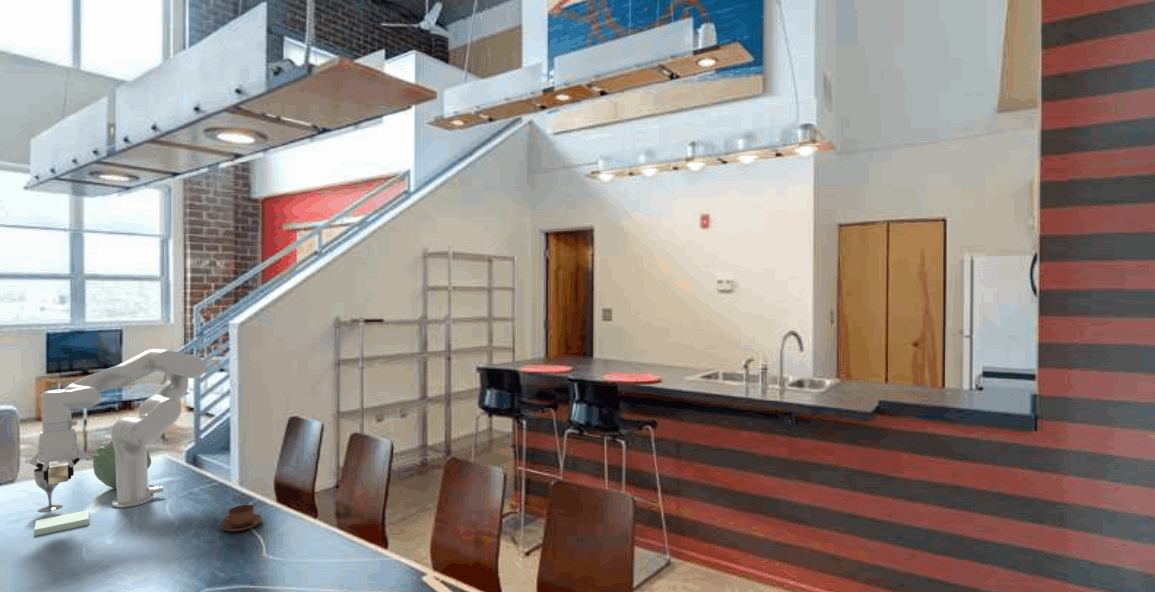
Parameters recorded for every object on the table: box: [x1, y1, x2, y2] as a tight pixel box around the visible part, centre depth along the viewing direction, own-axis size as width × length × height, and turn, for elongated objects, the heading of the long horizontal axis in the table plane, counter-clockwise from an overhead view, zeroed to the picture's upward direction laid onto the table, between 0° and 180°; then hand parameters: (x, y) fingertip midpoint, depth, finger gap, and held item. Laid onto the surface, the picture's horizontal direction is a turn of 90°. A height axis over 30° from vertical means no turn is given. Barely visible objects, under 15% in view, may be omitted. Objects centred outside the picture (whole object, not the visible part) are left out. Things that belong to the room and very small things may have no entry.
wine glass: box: [33, 464, 64, 513], centre depth 225 cm, size 8×8×15 cm
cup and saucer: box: [220, 504, 263, 532], centre depth 207 cm, size 12×12×6 cm
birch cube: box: [48, 462, 70, 484], centre depth 210 cm, size 5×5×5 cm
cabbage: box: [91, 440, 152, 489], centre depth 247 cm, size 16×19×20 cm
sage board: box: [33, 509, 90, 537], centre depth 210 cm, size 14×10×2 cm
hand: (59, 479), depth 210 cm, fingers closed on birch cube, 5 cm apart
